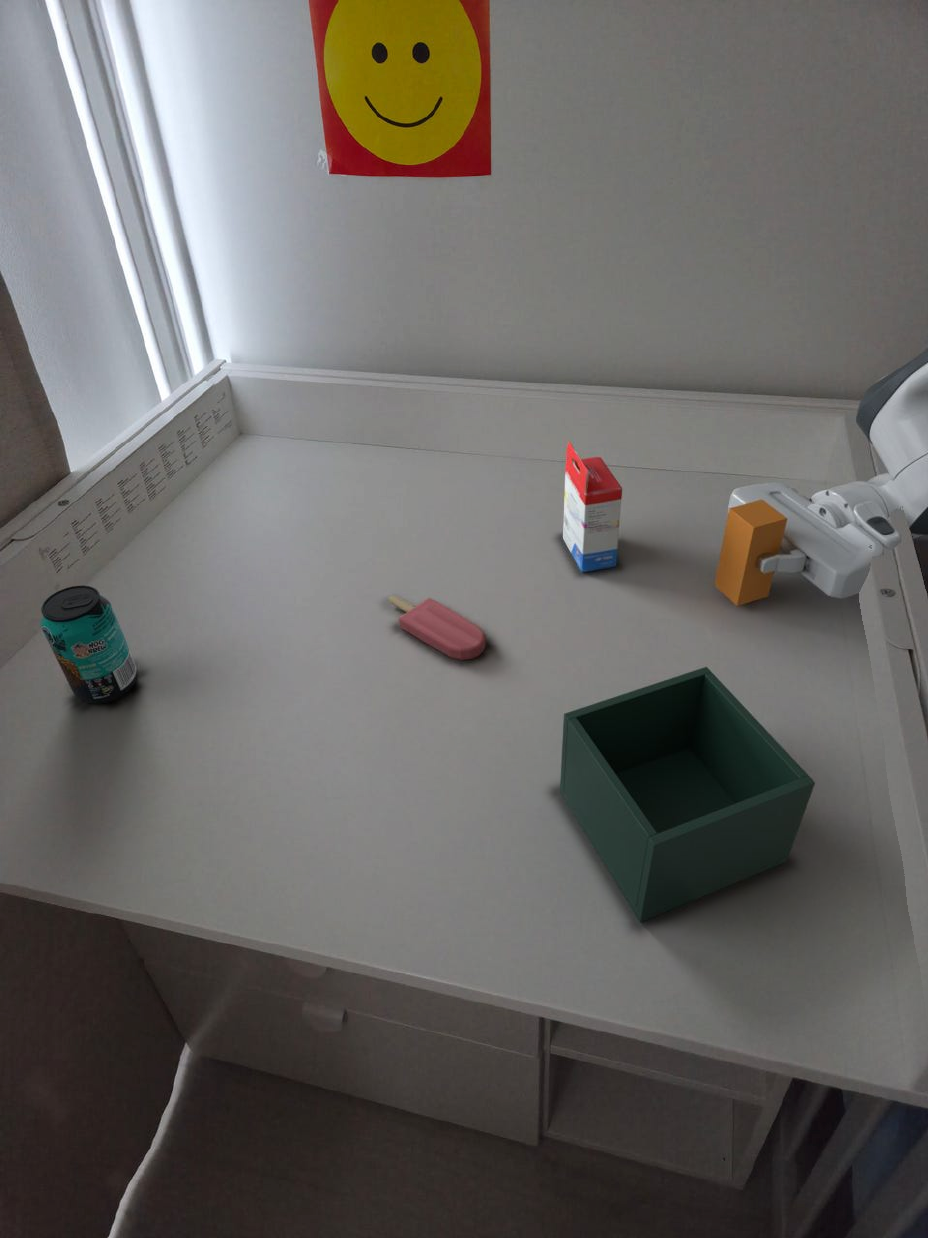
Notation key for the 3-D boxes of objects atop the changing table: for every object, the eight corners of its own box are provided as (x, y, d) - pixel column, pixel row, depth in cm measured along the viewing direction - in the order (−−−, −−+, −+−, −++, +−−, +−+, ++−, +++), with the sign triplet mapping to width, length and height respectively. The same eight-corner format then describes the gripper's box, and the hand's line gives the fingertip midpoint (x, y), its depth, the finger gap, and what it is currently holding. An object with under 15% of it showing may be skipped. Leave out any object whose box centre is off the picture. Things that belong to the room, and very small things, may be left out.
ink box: (617, 568, 104) (627, 466, 95) (580, 574, 104) (586, 472, 94) (595, 532, 111) (602, 434, 101) (560, 537, 110) (564, 439, 101)
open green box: (786, 861, 71) (815, 782, 64) (640, 922, 67) (654, 845, 60) (690, 745, 81) (706, 666, 74) (559, 792, 77) (563, 713, 70)
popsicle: (405, 582, 101) (495, 633, 93) (406, 592, 102) (495, 644, 94) (373, 602, 98) (463, 657, 90) (375, 612, 99) (464, 668, 91)
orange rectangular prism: (768, 596, 97) (787, 518, 90) (736, 606, 96) (753, 527, 89) (745, 575, 100) (762, 499, 93) (714, 585, 99) (728, 508, 92)
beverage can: (77, 671, 93) (38, 589, 86) (140, 658, 95) (107, 575, 87) (72, 713, 88) (30, 629, 81) (139, 699, 89) (103, 615, 82)
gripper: (788, 462, 103) (695, 486, 99) (913, 544, 88) (808, 576, 85) (778, 504, 107) (689, 529, 103) (895, 590, 92) (795, 623, 89)
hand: (743, 551), depth 94 cm, fingers closed on orange rectangular prism, 4 cm apart
